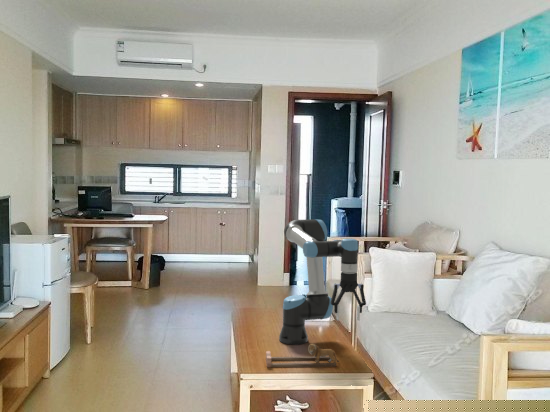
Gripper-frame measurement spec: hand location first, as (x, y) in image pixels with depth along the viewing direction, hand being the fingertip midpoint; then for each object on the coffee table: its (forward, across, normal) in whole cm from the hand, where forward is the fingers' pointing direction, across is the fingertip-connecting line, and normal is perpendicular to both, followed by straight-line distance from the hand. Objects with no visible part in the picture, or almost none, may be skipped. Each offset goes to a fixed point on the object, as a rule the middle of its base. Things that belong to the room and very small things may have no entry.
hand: (347, 319), depth 250 cm
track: (+20, -21, 0) cm, 29 cm away
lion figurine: (+21, -12, 0) cm, 24 cm away
